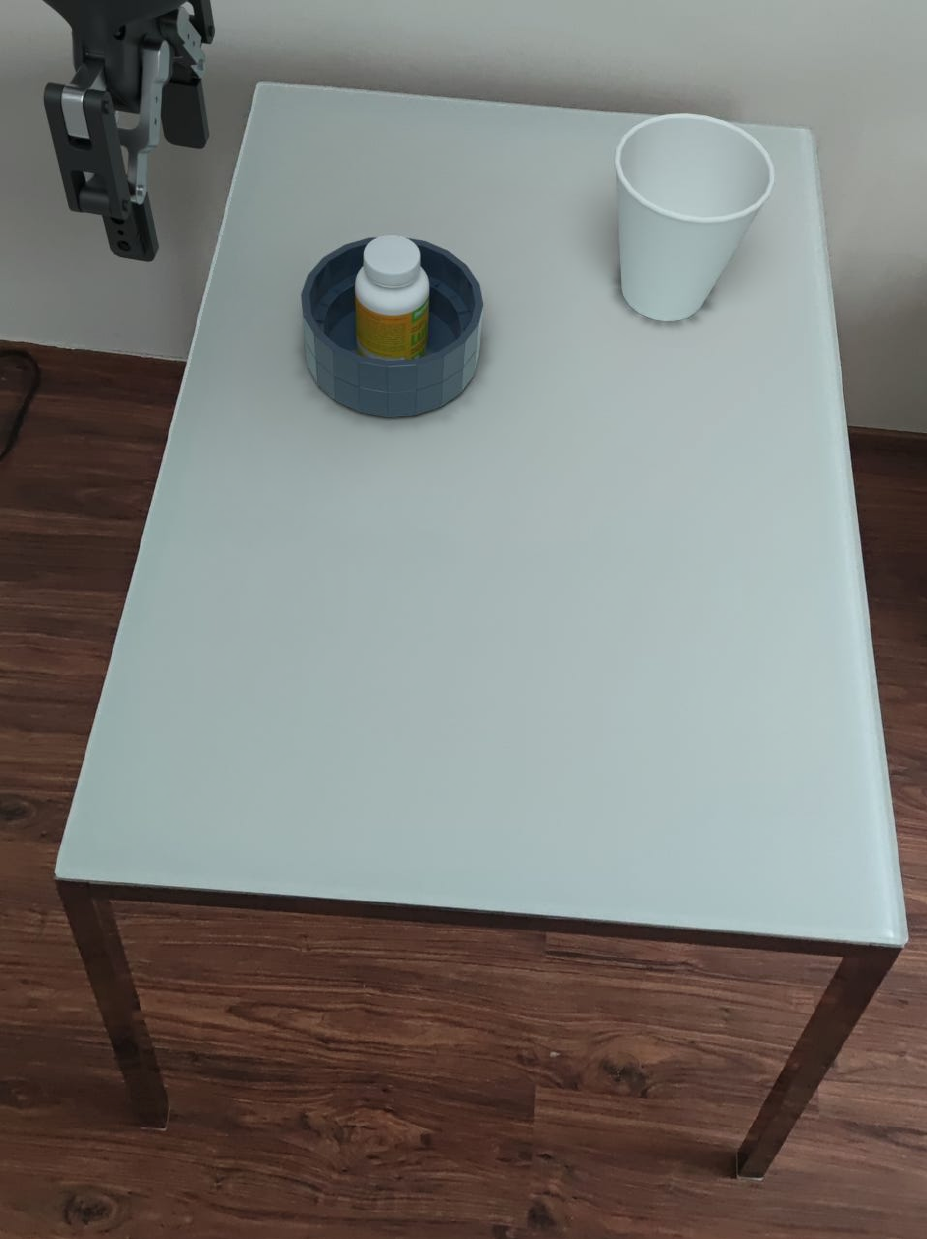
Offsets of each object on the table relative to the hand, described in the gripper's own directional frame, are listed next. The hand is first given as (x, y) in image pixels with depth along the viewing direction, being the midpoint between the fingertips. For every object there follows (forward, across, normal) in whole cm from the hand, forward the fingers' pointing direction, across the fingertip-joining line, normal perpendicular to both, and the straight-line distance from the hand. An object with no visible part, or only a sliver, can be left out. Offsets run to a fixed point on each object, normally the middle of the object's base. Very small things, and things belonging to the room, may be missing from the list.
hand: (163, 197), depth 61 cm
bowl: (+28, -18, +8) cm, 34 cm away
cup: (+28, -30, +28) cm, 50 cm away
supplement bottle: (+28, -18, +8) cm, 34 cm away
